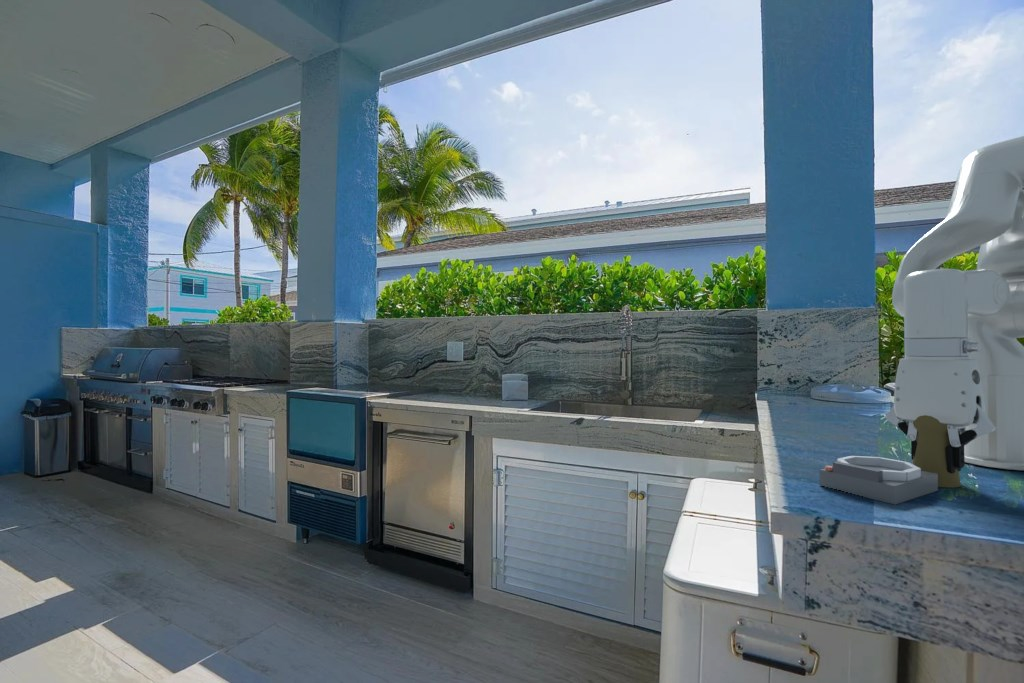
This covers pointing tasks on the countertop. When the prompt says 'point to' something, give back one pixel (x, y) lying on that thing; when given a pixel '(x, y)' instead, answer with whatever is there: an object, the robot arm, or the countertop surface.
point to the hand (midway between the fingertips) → (937, 467)
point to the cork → (934, 450)
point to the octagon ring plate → (879, 478)
